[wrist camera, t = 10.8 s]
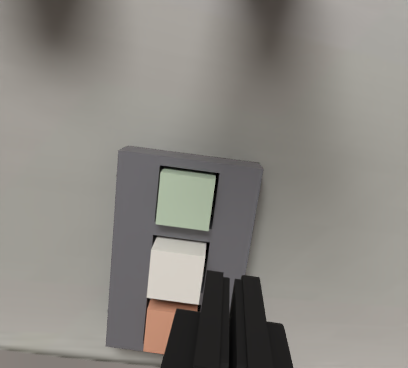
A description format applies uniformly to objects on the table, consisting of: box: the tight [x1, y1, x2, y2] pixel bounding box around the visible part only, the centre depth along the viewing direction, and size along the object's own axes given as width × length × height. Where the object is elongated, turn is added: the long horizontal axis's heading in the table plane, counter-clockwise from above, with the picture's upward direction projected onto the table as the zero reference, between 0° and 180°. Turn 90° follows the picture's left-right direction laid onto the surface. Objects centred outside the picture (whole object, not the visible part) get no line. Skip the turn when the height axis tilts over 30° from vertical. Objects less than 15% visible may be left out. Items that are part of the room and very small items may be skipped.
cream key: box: [147, 235, 206, 305], centre depth 29 cm, size 4×4×4 cm
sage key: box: [156, 166, 216, 231], centre depth 29 cm, size 4×4×4 cm
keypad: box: [106, 146, 263, 351], centre depth 31 cm, size 19×12×3 cm, turn 173°
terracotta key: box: [143, 298, 198, 354], centre depth 32 cm, size 4×4×4 cm
